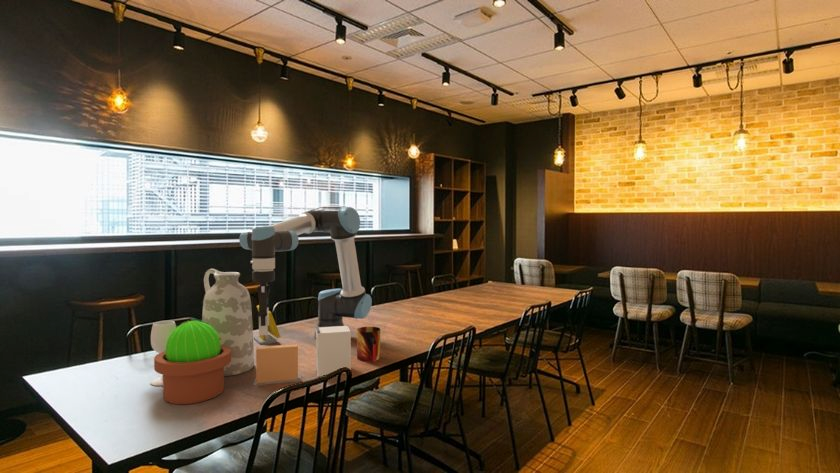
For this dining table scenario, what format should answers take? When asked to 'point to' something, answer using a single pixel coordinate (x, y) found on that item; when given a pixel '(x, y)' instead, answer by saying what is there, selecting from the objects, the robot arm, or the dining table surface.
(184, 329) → the potted cactus
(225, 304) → the vase
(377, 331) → the mug
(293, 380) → the pad
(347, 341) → the white tall block
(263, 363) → the peach cardboard box
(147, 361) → the dining table surface
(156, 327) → the wineglass
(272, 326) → the toy computer monitor
